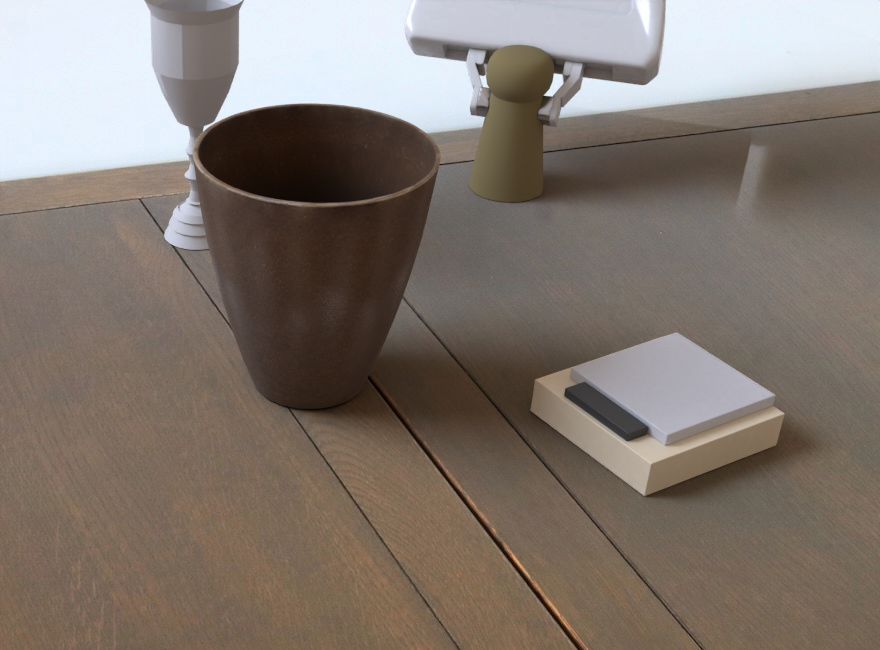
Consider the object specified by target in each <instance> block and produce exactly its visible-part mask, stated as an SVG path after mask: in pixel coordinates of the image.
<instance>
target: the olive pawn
mask: <svg viewBox="0 0 880 650" xmlns="http://www.w3.org/2000/svg"><path fill="white" fill-rule="evenodd" d="M554 75H555V74H554V64H553V61H552V59H551V57H550V55H549V54H548V53H547V52H545V51H544V50H542V49H540V48H537V47H534V46H528V45H509V46H505V47H502V48H500V49H498V50H496V51H495V52H494V53H493V55H492V56H491V57H490V59H489V62H488V64H487V71H486V75H485V80H486V85H487V88H489V89H490V90H491V96H490V100H489V108H488V112H487V113H486V116H485V117H484V119H483V124H482V128H481V131H480V135H479V139H478V144H477V148H476V152H475V156H474V161H473V164H472V168H471V171H470V176H469V180H468V187H469V189H470V190H471V191H472V192H473V193H474V194H476V195H477V196H479V197H481V198H484V199H486V200H491V201H495V202H501V203H522V202H526V201H531V200H534V199H535V198H538V197H539V196H540V195H541V194H542V193H543V192H544V125H542V124H541V122H540V121H539V120H538V119H537V117H538V111H539V108H541V102H542V98H543V96H546V94H547V92H548V91H549V90H550V89H551V86H552V84H553V81H554Z"/></svg>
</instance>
